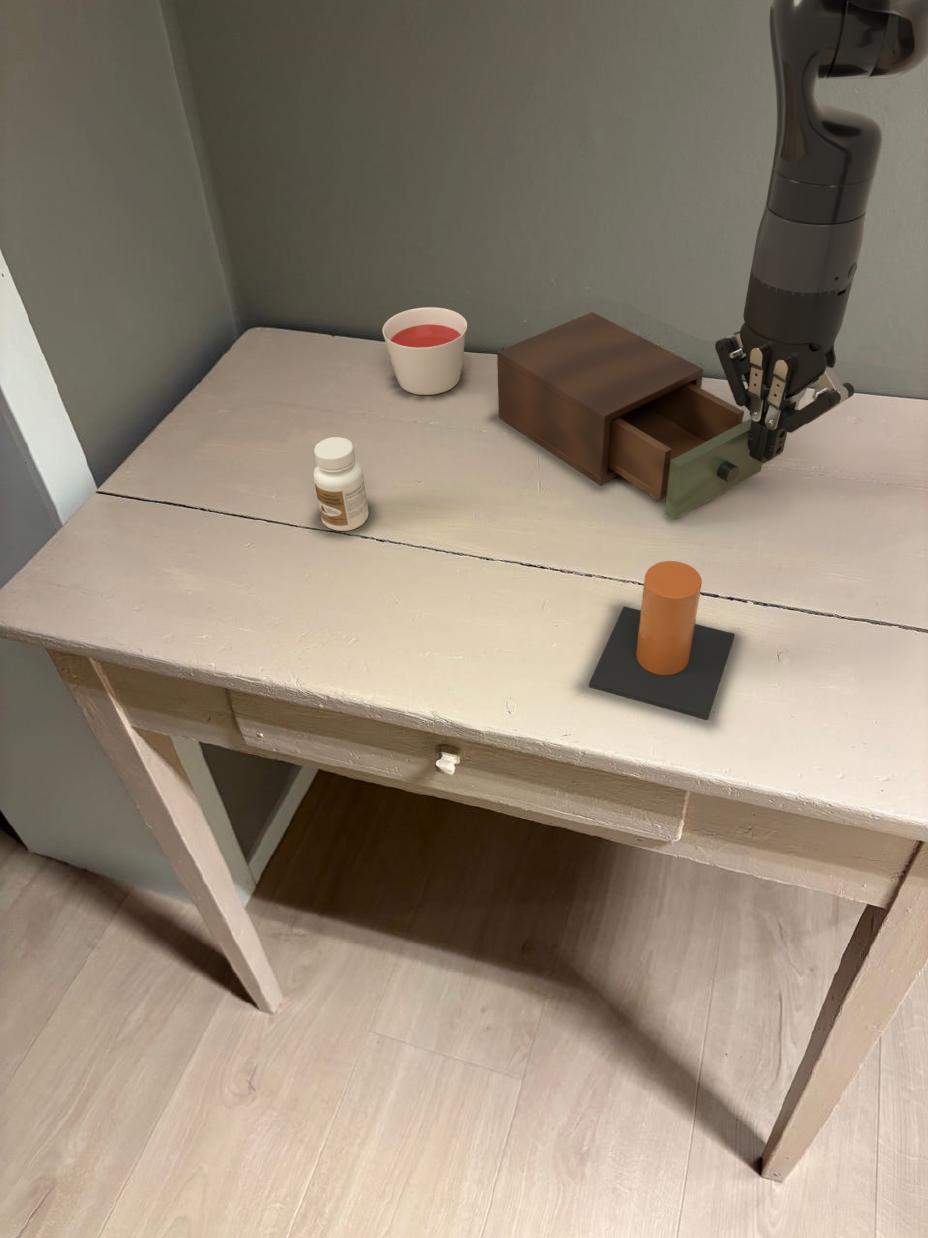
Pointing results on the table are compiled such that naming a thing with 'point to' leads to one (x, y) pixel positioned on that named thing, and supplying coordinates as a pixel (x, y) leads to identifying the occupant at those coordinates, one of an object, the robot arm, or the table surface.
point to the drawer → (682, 448)
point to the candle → (426, 348)
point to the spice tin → (668, 617)
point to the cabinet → (584, 387)
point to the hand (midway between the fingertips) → (763, 456)
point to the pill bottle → (339, 485)
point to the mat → (673, 692)
